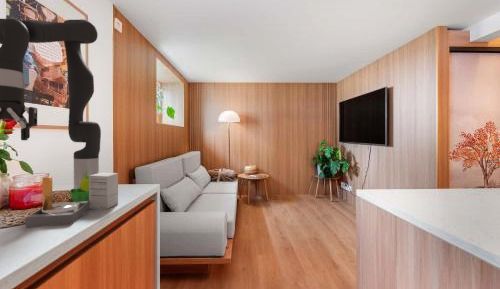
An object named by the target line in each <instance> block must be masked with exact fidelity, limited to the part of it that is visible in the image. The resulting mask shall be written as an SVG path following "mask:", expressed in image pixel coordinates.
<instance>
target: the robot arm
mask: <svg viewBox="0 0 500 289" xmlns="http://www.w3.org/2000/svg"><path fill="white" fill-rule="evenodd" d="M97 40H98V31H97V28H96V26H95V25H94V23H92V22H91V21H89V20H87V19H66V20H64V21H63V22H60V21H59V22H58V21H51V20H50V21H48V20H37V19H26V20H25V19H23V20H19V19H16V18H9V17H8V18H0V45H1V46H0V122H2V121H3V120H13V121H16V123H17V124H19V126H20V127H21V128H20V139H21V141H28V140H29V138H30V136H31V135H30V131H31V130H30V129H31V128H34V127H37V126H38V108H37V107H33V106H29V107H27V106H25V104H26V103H25V102H26V100H25V98H26V95H25V77H24V59H25V56H26V53H27V51H28V47H29V44H31V43H32V44H41V43H42V44H43V43H46V44H47V43H56V42H63V44H64V49H65V58H66V68H67V71H66V72H67V89H68V110H69V111H68V129H67V131H68V136H69V139H70V140H71V141H72V142H74V143H85V146H84V147H83V148H81V149H79V150H76V151H74V152H73V189H78V188H80V182H81V181H82V179H83V178H84V177H86V176H90V175H94V174H98V173H100V170H99V169H100V167H99V166H100V165H99V158H100V157H99V156H100V152H101V135H102V130H101V127H100V124H99V123H98V122H95V121H84V112H85V109H86V106H87V105H88V103H89V102H90V100H91V98H92V97H93V95H94V92H95V83H94V82H95V80H94V75H93V73H92V71H91V69H90V68H89V66H88V65H87V63H86V62H85V60H84V58H83V55H82V50H81V49H82V48H81V46H82V45H83V44H85V45H86V44H88V45H89V44H93V43H95V42H96V41H97ZM25 112H26V113H27V115H28V118H26V117H25V116H24V114H25ZM27 119H28V121H27Z"/></svg>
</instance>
